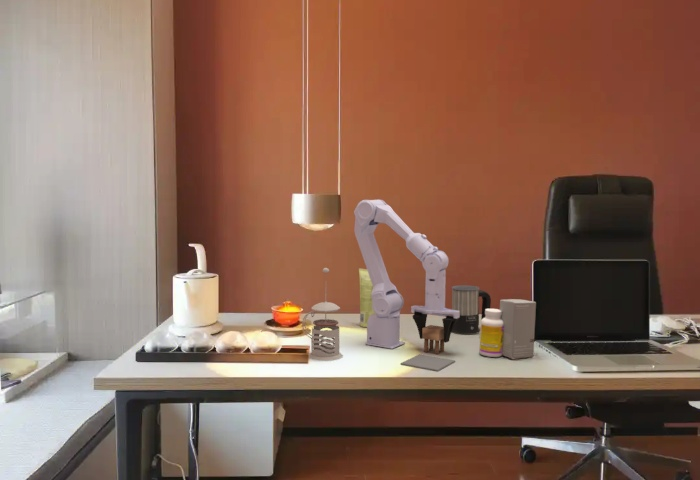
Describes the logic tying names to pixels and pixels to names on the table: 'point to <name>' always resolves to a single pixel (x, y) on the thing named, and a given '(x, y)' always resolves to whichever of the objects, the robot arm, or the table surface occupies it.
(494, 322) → the supplement bottle
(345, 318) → the table surface
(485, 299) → the milk frother
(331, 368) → the table surface
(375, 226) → the robot arm
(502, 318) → the skincare box
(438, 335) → the tan box with knobs
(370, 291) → the tube
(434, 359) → the pad
